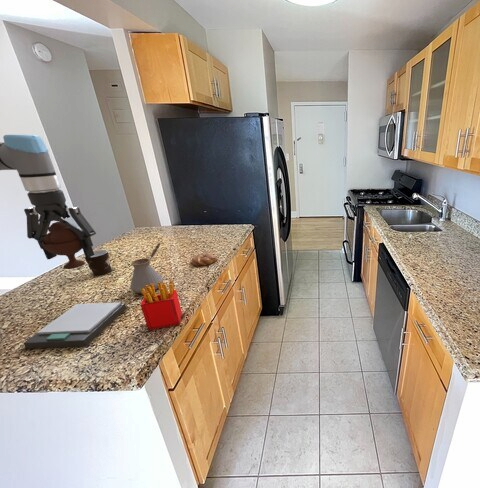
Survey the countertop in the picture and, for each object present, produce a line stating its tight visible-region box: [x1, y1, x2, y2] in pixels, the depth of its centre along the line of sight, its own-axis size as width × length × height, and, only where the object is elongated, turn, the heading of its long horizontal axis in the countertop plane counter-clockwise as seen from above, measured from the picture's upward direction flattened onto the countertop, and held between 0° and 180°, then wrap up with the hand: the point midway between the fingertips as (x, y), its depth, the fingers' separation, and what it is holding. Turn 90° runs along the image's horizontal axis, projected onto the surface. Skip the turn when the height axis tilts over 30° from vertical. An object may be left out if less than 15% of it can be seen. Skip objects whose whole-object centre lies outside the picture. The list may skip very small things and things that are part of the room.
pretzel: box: [191, 253, 218, 267], centre depth 132 cm, size 12×11×4 cm
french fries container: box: [140, 280, 183, 331], centre depth 86 cm, size 7×9×14 cm
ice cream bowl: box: [40, 221, 87, 270], centre depth 84 cm, size 11×11×15 cm
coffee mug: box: [83, 249, 112, 277], centre depth 118 cm, size 12×9×10 cm
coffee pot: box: [129, 242, 164, 295], centre depth 110 cm, size 21×12×15 cm, turn 3°
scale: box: [22, 301, 127, 350], centre depth 86 cm, size 17×19×3 cm
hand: (71, 257), depth 86 cm, fingers closed on ice cream bowl, 11 cm apart
